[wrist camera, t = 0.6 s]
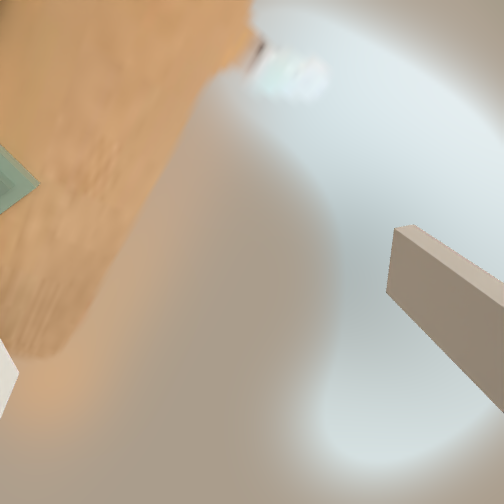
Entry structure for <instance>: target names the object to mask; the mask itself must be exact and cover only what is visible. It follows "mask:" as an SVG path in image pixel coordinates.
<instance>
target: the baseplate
mask: <svg viewBox="0 0 504 504" xmlns="http://www.w3.org/2000/svg"><path fill="white" fill-rule="evenodd" d="M39 184H40V183H39V182H38V181H37V180H36V179H35V178H34V177H33V176H32V175H31V174H30V173H29V172H28V171H27V170H26V169H25V168H24V167H23V166H22V165H21V164H20V163H19V162H18V161H17V160H16V159H15V158H14V157H13V156H12V155H11V154H10V153H9V152H8V151H7V150H6V149H5V148H4V147H3V146H1V145H0V214H1V213H2V212H4V211H5V210H6V209H8V208H9V207H11V206H12V205H13V204H15V203H16V202H17V201H19V200H20V199H21V198H23V197H24V196H25V195H27V194H28V193H30V192H31V191H32V190H34V189H35V188H36V187H37V186H38V185H39Z"/></svg>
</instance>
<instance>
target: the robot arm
mask: <svg viewBox="0 0 504 504" xmlns="http://www.w3.org/2000/svg"><path fill="white" fill-rule="evenodd" d="M386 293H387V294H388V295H389V296H390V297H391V298H392V299H393V300H394V301H395V302H396V303H397V304H398V305H399V306H400V307H401V308H402V309H403V310H404V311H405V312H406V314H408V316H409V317H410V318H411V319H412V320H413V321H414V322H415V323H416V324H417V325H418V326H419V327H420V328H421V329H422V330H423V331H424V332H425V333H426V334H427V335H428V336H429V337H430V338H431V339H432V340H433V341H434V342H435V343H436V344H437V345H438V346H439V347H440V348H441V349H442V350H443V351H444V352H445V353H446V354H447V356H448V357H449V358H451V360H452V361H453V362H454V363H455V364H456V365H457V366H458V367H459V368H460V369H461V370H462V371H463V372H464V373H465V374H466V375H467V376H468V377H469V378H470V379H471V380H472V381H473V382H474V383H475V384H476V385H477V386H478V387H479V388H480V389H481V390H482V391H483V392H484V393H485V394H486V395H487V396H488V397H489V399H490V400H491V401H492V402H493V403H494V404H495V405H496V406H497V407H498V408H499V409H500V410H501V411H502V412H503V413H504V283H503V282H501V281H500V280H498V279H496V278H495V277H494V276H492V275H490V274H489V273H487V272H486V271H484V270H482V269H481V268H480V267H478V266H477V265H475V264H473V263H472V262H471V261H469V260H468V259H466V258H464V257H463V256H461V255H460V254H458V253H457V252H455V251H454V250H452V249H451V248H449V247H448V246H446V245H445V244H443V243H442V242H440V241H438V240H437V239H435V238H434V237H432V236H431V235H429V234H428V233H426V232H425V231H423V230H421V229H420V228H419V227H417V226H416V225H408V226H403V227H398V228H394V234H393V242H392V249H391V257H390V265H389V273H388V281H387V289H386ZM18 375H19V371H18V370H17V368H16V366H15V364H14V362H13V361H12V359H11V357H10V355H9V353H8V352H7V350H6V348H5V346H4V344H3V343H2V341H1V339H0V418H1V416H2V413H3V411H4V409H5V406H6V404H7V402H8V399H9V397H10V394H11V392H12V389H13V387H14V385H15V382H16V380H17V378H18Z"/></svg>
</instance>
